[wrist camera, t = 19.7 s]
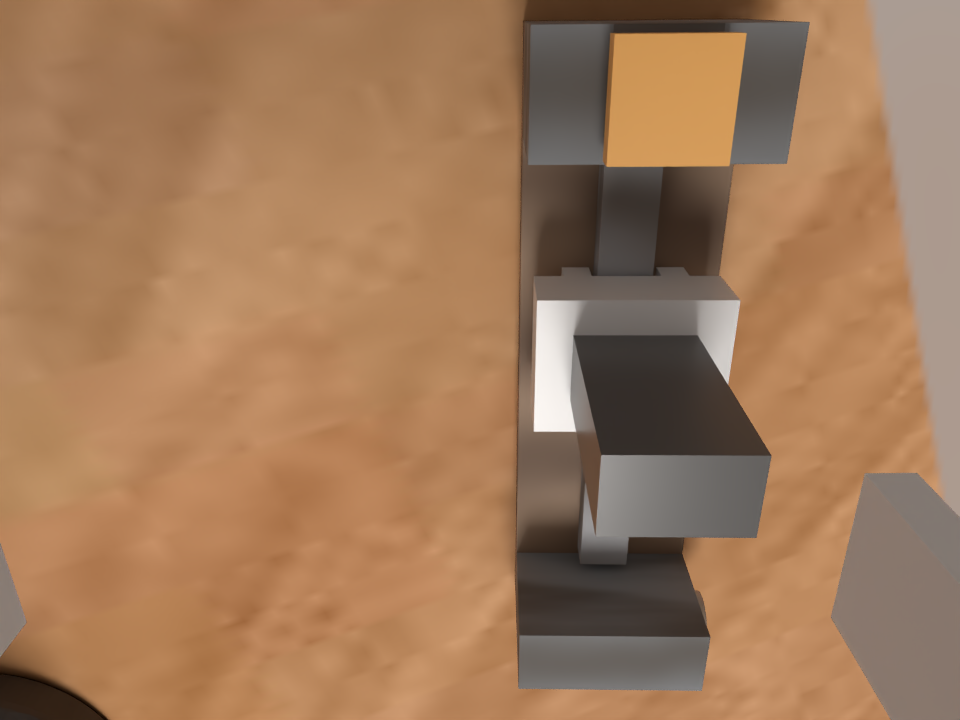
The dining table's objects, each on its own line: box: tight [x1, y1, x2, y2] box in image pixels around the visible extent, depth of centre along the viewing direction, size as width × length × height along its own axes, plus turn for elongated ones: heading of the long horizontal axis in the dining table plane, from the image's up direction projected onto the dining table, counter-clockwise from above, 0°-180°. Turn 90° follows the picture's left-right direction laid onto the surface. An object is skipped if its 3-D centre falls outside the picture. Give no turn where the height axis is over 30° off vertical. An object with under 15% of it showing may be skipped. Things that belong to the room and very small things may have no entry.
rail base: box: [515, 19, 810, 691], centre depth 34 cm, size 30×10×8 cm, turn 0°
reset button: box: [603, 32, 747, 167], centre depth 26 cm, size 4×4×4 cm
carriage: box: [531, 267, 771, 538], centre depth 29 cm, size 6×8×13 cm
